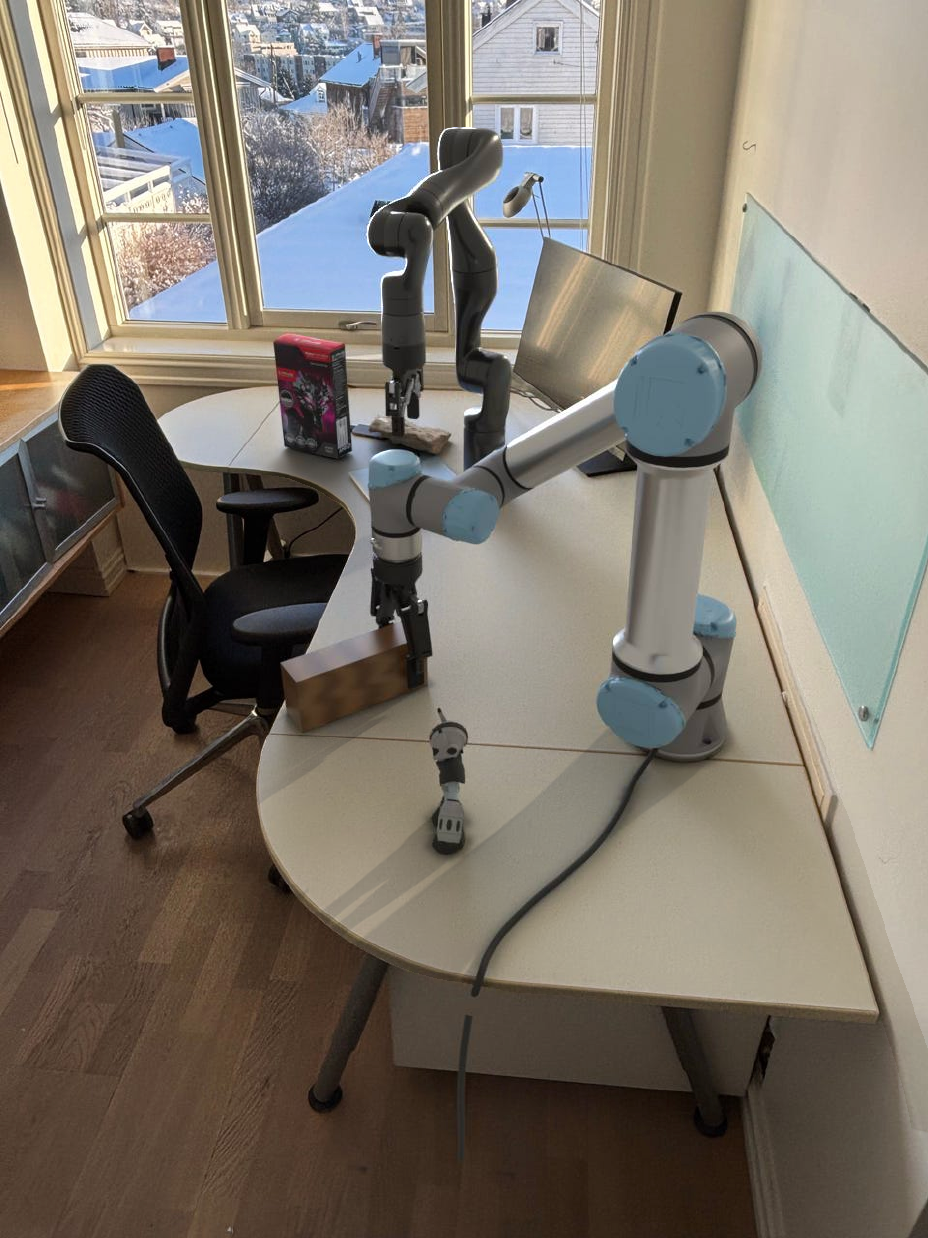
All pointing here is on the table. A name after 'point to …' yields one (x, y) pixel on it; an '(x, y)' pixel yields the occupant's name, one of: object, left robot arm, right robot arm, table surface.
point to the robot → (449, 784)
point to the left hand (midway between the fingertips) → (406, 426)
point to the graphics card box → (313, 395)
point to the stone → (412, 434)
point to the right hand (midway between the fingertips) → (401, 671)
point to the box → (347, 677)
